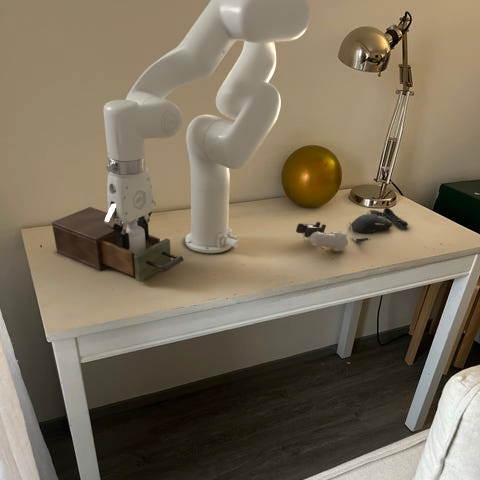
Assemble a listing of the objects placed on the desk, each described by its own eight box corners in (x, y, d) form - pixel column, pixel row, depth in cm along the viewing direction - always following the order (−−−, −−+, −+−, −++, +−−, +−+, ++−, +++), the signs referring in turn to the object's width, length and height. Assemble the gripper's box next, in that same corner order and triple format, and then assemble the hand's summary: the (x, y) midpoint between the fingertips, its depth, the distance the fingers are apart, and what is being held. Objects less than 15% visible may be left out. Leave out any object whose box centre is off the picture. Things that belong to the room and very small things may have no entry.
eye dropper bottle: (147, 263, 118) (144, 215, 111) (123, 265, 116) (118, 217, 110) (145, 255, 121) (142, 207, 114) (121, 257, 120) (117, 209, 113)
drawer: (190, 270, 118) (189, 246, 115) (159, 290, 111) (158, 264, 107) (129, 247, 126) (126, 224, 123) (96, 264, 119) (93, 239, 115)
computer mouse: (336, 217, 150) (338, 204, 148) (387, 212, 155) (390, 200, 153) (356, 234, 141) (358, 221, 138) (410, 229, 145) (413, 216, 143)
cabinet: (135, 251, 127) (133, 221, 122) (99, 270, 118) (95, 239, 113) (93, 235, 133) (90, 206, 128) (57, 252, 124) (51, 222, 120)
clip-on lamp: (347, 242, 143) (292, 235, 136) (354, 220, 141) (298, 212, 133) (370, 257, 134) (312, 251, 126) (378, 234, 131) (319, 227, 124)
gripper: (110, 179, 98) (118, 261, 109) (167, 158, 110) (170, 234, 121) (83, 171, 101) (93, 251, 112) (141, 151, 113) (146, 226, 124)
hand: (133, 242), depth 116 cm, fingers closed on eye dropper bottle, 5 cm apart
